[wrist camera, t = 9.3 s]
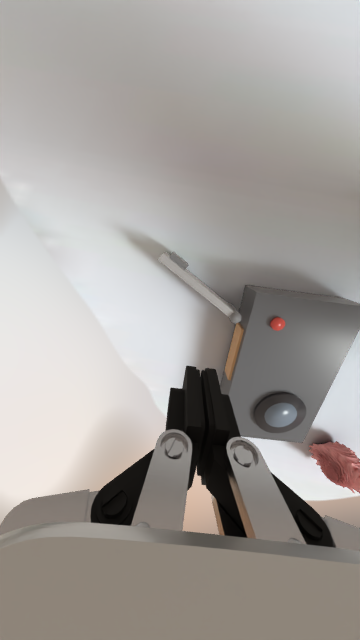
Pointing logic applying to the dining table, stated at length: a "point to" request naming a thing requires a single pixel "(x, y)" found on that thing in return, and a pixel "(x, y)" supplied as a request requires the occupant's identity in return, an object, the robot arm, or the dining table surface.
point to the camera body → (286, 359)
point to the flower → (338, 464)
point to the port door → (198, 285)
